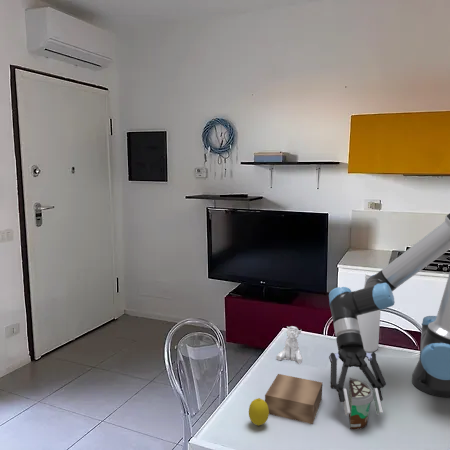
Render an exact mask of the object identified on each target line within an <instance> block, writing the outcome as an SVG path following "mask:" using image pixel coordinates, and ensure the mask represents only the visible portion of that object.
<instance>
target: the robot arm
mask: <svg viewBox="0 0 450 450" xmlns="http://www.w3.org/2000/svg"><path fill="white" fill-rule="evenodd" d="M448 251H450V213H448V214H447V215H446V216H445V220H444V221H443V222H441V224H439V225H438V226H437V227H436V228H434V229H433V230H431V231H430V232H429V233H428V234H427V235H425V236H424V237H422V238H421V239H420V240H419V241H417V242H415V243H414V244H413V245H412V246H410V247H409V248H408V249H407V250H405V251H404V252H403V253H402V254H400V255H399V256H397V257H396V258H395V259H394V260H392V261H391V262H390V263H388V264H387V265H386V266H385V267H383V268H382V269H381V270H380V271H378V272H377V273H375V275H372V276H371V277H370V278H369V279H368V280H367V282H366V285H365V284H364V285H365V287H363V288H360V289H358V290H357V289H356V290H353V291H352V290H351V288H350V287H346V286H342V287H339V286H338V287H335V288H332V289H331V290H330V291H329V293H328V299H329V300H328V302H329V307H330V312H331V318H332V321H333V323H332V324H333V328H334V334H335V337H336V338H335V339H336V347H337V350H338V352H337V353H334V352H331V353H330V354H329V356H328V359H329V362H330V378H329V379H330V385H329V386H330V389H332V390H335V391H336V392H337V395H338V399H339V403H342V404H343V411H344V415H345V416H348V415H349V414H350V413H351V412H350V407H349V401H348V397H349V395H348V391H347V388H344V385H345V381H346V378H347V373H348V370H349V368H353V367H355V368H358V369H359V370H360V371H361V372H362V373H363V375H364V376H365V378H366V379H367V380H368V382H369V384H370V386H371V387H372V388H373V389H371V390H372V393H373V402H374V407H375V412H376V415H377V416H380V415H381V414H382V413H384V412H383V408H382V403H381V402H382V401H383V399H384V398H383V393H382V389H384V387H385V386H386V385H387V382H386V380H385V378H384V375H383V373H382V370H381V368H380V365H379V363H378V361H377V354H376V352H375V351H374V352H366V351H365V350H364V347H363V342H362V338H361V335H360V328H359V324H358V319H357V316H358V315H362V314H365V313H369V312H373V311H377V310H386V309H388V308H391V307H393V306H394V305H395V296H394V293H393V292H394V291H395V290H396V289H397V288H399V287H401V286H402V285H403V284H404V283H406V282H407V281H408V280H410V279H411V278H412V277H414V276H415V275H416V274H418V273H419V272H420V271H422V270H423V269H425V268H426V267H428V266H429V265H430V264H431V263H432V262H434V261H436V260H437V259H438V258H440V257H441V256H443V255H444V254H445V253H446V252H448ZM420 335H421V336H420V345H419V346H420V347H419V348H420V349H419V359H418V362H417V364H416V366H415V368H414V370H413V372H412V374H411V375H412V377H411V383H412V385H413V386H414V387H415V388H417V389H418V390H419V391H421V392H423V393H426V394H429V395H432V396H437V397H440V398H441V397H442V398H450V272H449V274H448V277H447V281H446V284H445V288H444V291H443V294H442V297H441V300H440V304H439V307H438V311H437V314H436V315H428V316H424V317H423V318H422V323H421V334H420ZM338 359H339V360H340V361H342V367H341V372H340V376H339V378H338V377H337V375H338V373H337V372H338V369H337V368H338ZM366 359H367V361H368V362H369V365H370V367H371V369H372V371H371V369H370V368H369V366H368V364H367V362H366ZM337 378H338V382H337Z"/></svg>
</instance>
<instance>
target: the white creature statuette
mask: <svg viewBox="0 0 450 450" xmlns="http://www.w3.org/2000/svg"><path fill="white" fill-rule="evenodd" d="M286 328H287V330H286V336H287V338H286V340H285V342H284V343H285V344H284V347H283V350H281V351H280V352H278V353H277V355H276V357H275V358H276V360H278V361H281V360H285V361H287V360H288V361H289V360H290V361H291V362H292V361H293V362H297V363H298V364H299V363H300V364H299V365H301V364H302V362H303V356H302V355H301V351H300V347H299V341H298V339H297V338H298V337H299V335H300V334H302V333H301V332H302V331H303V330H302V329H300V330H299V328H298V327H297V326H293V325H291V326H286Z"/></svg>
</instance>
